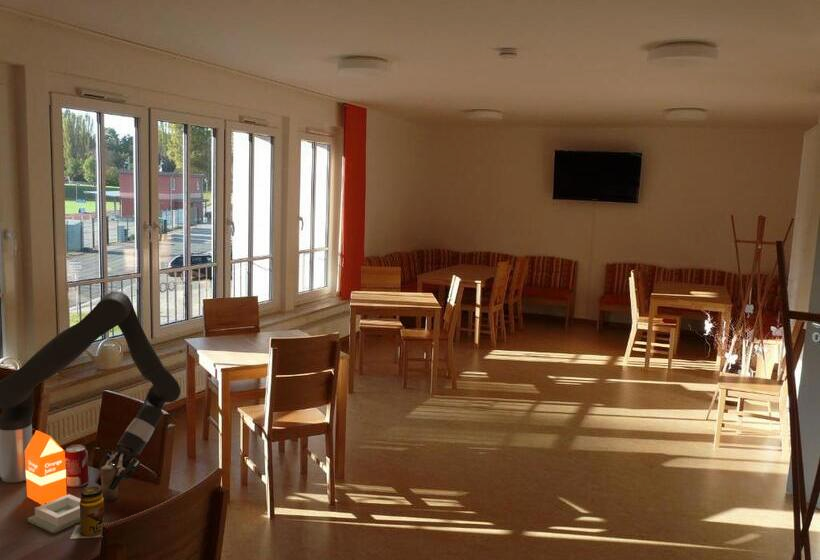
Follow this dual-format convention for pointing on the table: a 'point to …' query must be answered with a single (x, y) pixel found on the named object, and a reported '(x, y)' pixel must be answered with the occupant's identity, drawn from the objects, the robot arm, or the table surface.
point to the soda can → (76, 466)
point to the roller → (108, 482)
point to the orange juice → (45, 469)
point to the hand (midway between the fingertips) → (104, 486)
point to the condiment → (90, 514)
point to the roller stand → (57, 514)
